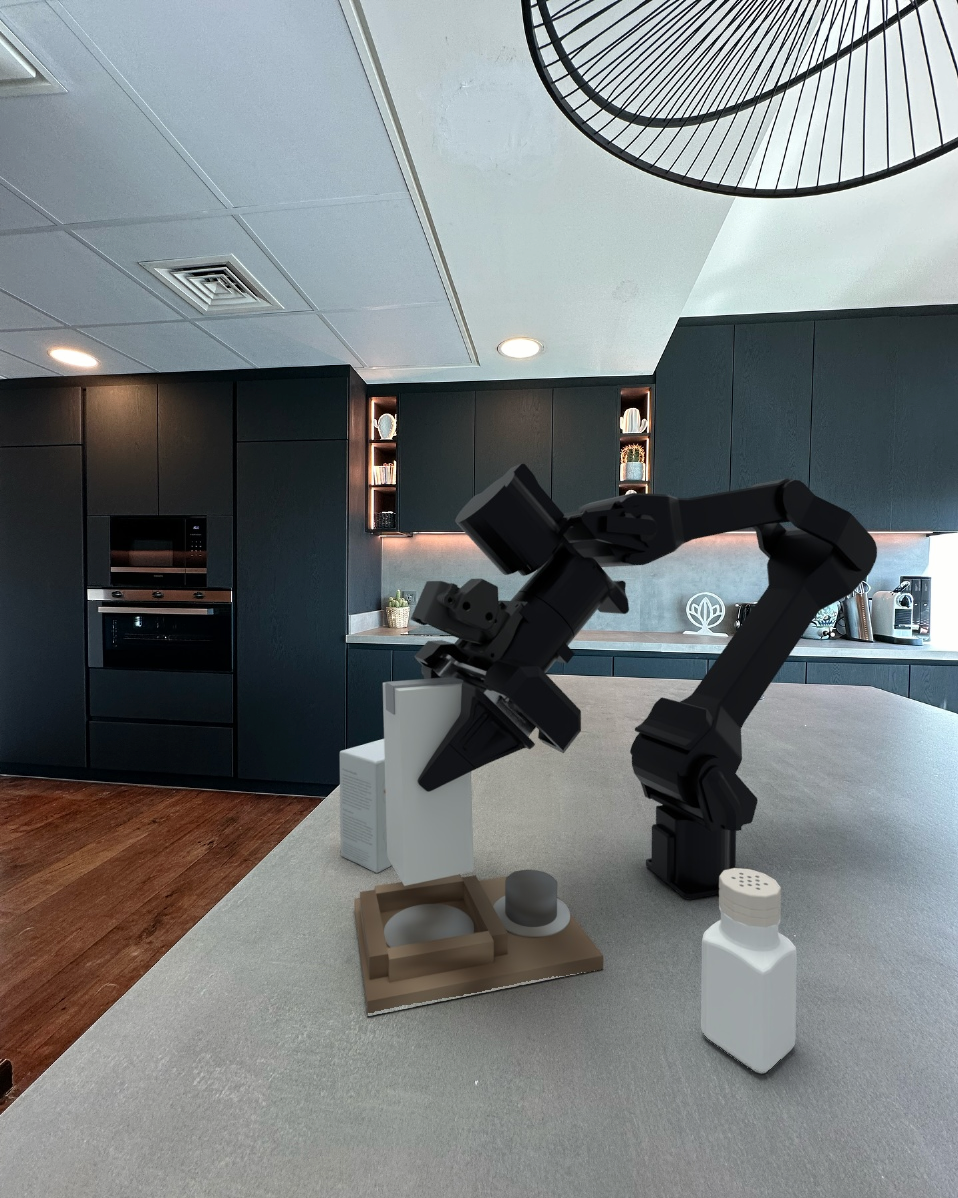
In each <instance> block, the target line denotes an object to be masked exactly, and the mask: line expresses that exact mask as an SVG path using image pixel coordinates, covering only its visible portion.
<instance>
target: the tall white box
mask: <svg viewBox="0 0 958 1198" xmlns="http://www.w3.org/2000/svg"><path fill="white" fill-rule="evenodd" d="M462 683H463V680H461V679H458V678H454V677H445V678H432V679H424V678H423V679H421V678H420V679H419V678H418V679H407V680H396V681H395V680H393V681H385V682H382V702H383V703H382V706H383V708H382V710H383V712H382V713H383V739H384V752H385V790H386V829H387V857H388V859H389V861H390V862H391V864H392V866H391V867H393V868H394V869H393V870H394V871H395V873H396V874H397V876H398V878H399V879H400V882H402V883H403V885H404V886H407V885H411V884H416V883H421V882H425V881H430V880H435V879H439V878H444V877H449V876H453V875H458V874H460V875H462V874H466V873H467V874H468V873H472V872H474V871H475V863H474V862H475V859H474V828H473V823H474V822H473V820H474V819H473V797H472V796H473V794H472V793H473V791H472V771H471V772H469V773H467V774H465V775H463V776H461V777H459V778H457V779H455V780H453V781H451V782H449V783H447V784H445V785H442V786H440V787H438V788H436V789H434V790H432V791H430V792H427V791H426V790H425V789H423V788H422V787H421V786H420V785H419V784H418V778H419V777H420V775H421V773H422V772H423V770H424V768H425V767H426V765H427V763H428V762H429V760H430V759H431V757H432V756H433V754H434V753H435V751H436V750H437V748H438V747H439V745H440V744H441V742H442V741H443V739H444V738H445V736H446V735H447V733H448V732H449V730H450V729H451V727H452V726H453V724H454V723H455V721H456V720H457V718H458V717H459V715H460V712H461V689H462Z"/></svg>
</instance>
